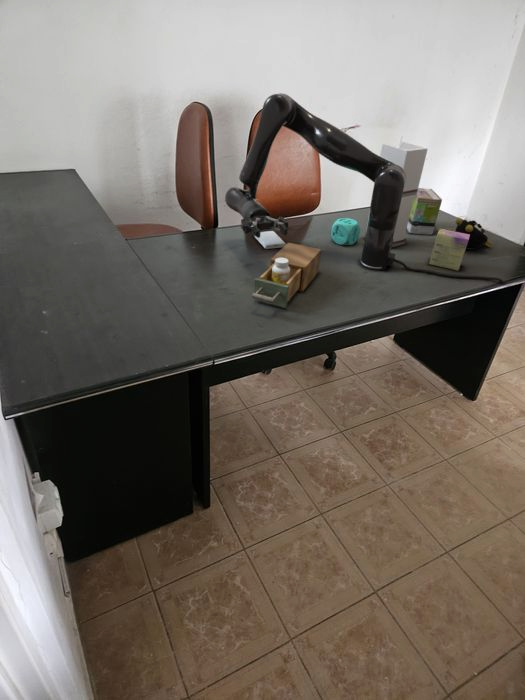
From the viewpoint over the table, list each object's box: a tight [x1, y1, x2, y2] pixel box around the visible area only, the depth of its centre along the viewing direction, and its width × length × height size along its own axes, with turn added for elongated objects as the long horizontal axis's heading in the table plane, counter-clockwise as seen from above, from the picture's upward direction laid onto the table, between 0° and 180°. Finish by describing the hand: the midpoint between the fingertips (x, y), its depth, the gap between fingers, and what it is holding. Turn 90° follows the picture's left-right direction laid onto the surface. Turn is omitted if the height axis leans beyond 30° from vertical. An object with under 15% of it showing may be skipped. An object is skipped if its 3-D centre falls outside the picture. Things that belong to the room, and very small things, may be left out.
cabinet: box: [269, 242, 322, 293], centre depth 153 cm, size 15×11×8 cm
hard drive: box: [253, 230, 287, 250], centre depth 179 cm, size 2×8×12 cm
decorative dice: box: [330, 217, 361, 246], centre depth 181 cm, size 8×8×8 cm
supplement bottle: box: [272, 258, 290, 285], centre depth 141 cm, size 5×5×10 cm
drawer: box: [251, 263, 302, 309], centre depth 140 cm, size 20×10×7 cm, turn 156°
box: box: [428, 228, 470, 272], centre depth 167 cm, size 10×6×12 cm, turn 65°
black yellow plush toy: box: [454, 217, 493, 250], centre depth 181 cm, size 12×15×15 cm
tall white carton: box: [364, 141, 428, 248], centre depth 176 cm, size 11×11×35 cm
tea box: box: [406, 187, 443, 235], centre depth 195 cm, size 15×10×15 cm, turn 179°
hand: (272, 233), depth 142 cm, fingers open, 8 cm apart
